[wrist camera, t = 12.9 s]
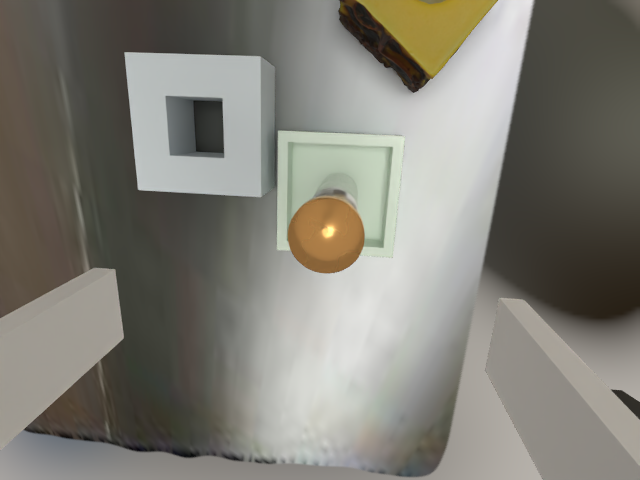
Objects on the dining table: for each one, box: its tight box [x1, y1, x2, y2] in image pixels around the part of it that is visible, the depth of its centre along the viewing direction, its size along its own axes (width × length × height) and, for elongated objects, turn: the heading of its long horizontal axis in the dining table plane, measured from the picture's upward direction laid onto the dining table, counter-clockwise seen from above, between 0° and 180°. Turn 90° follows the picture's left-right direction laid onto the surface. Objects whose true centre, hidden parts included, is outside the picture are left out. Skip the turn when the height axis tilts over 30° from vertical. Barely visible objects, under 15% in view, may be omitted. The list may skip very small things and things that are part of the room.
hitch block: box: [124, 52, 275, 197], centre depth 37 cm, size 12×12×6 cm
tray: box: [277, 130, 405, 258], centre depth 39 cm, size 12×12×3 cm
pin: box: [288, 173, 365, 273], centre depth 32 cm, size 5×5×17 cm
